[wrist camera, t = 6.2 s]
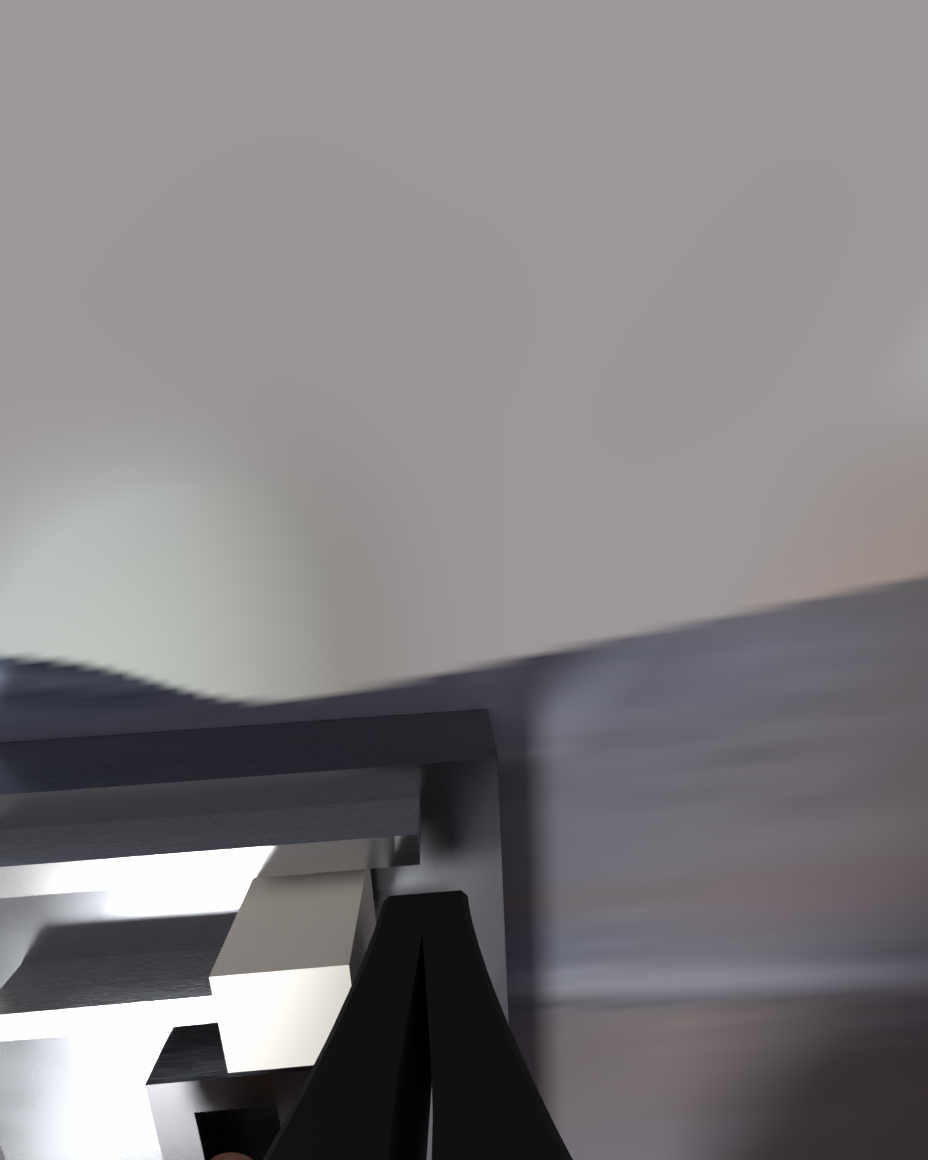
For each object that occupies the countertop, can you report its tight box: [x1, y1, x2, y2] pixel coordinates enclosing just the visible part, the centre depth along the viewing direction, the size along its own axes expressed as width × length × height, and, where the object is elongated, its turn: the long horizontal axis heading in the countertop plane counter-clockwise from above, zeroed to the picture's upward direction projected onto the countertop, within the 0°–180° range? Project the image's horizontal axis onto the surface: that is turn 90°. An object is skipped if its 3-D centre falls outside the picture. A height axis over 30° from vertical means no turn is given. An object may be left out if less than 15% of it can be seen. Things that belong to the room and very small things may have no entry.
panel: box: [0, 709, 509, 1160], centre depth 12 cm, size 17×11×3 cm, turn 3°
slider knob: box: [209, 869, 376, 1073], centre depth 9 cm, size 2×2×2 cm
